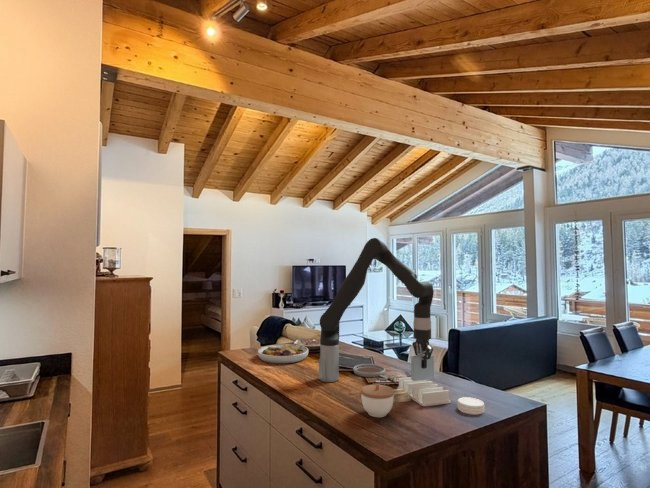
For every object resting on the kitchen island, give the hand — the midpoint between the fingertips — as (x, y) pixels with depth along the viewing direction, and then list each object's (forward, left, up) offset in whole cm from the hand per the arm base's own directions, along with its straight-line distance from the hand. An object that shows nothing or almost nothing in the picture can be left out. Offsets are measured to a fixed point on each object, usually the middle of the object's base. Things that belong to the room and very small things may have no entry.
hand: (422, 367), depth 169 cm
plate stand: (-14, 0, -12) cm, 19 cm away
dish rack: (0, 0, -12) cm, 12 cm away
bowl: (-46, +80, -13) cm, 93 cm away
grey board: (0, 0, -5) cm, 5 cm away
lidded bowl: (-27, -12, -12) cm, 32 cm away
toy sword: (-7, +33, -13) cm, 36 cm away
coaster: (+10, -19, -13) cm, 25 cm away
